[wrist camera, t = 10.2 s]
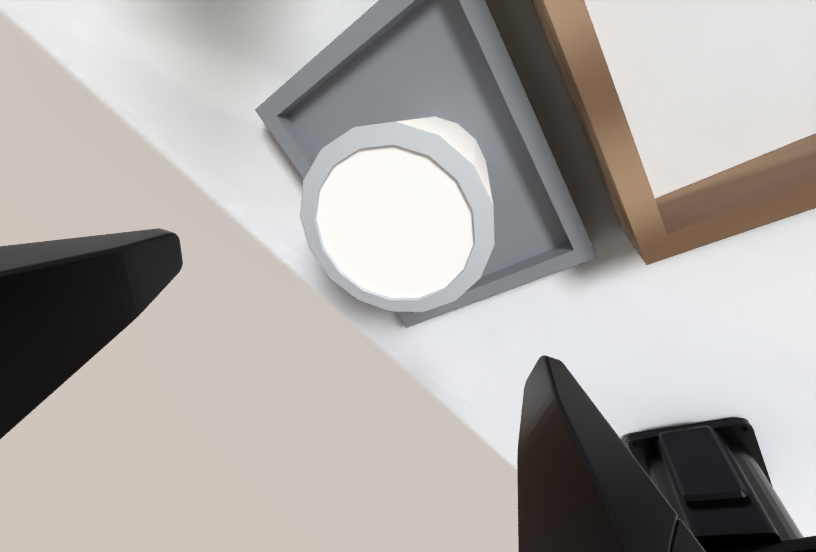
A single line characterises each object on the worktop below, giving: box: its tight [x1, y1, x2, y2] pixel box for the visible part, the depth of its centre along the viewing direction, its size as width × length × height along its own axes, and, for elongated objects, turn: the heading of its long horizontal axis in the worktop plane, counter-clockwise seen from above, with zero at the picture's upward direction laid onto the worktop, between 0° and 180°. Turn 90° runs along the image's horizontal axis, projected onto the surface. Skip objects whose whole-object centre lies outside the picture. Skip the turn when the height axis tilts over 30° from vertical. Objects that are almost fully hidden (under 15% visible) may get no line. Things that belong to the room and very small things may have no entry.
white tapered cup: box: [300, 116, 495, 312], centre depth 15 cm, size 7×7×7 cm
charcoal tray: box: [255, 0, 598, 328], centre depth 18 cm, size 14×11×2 cm
